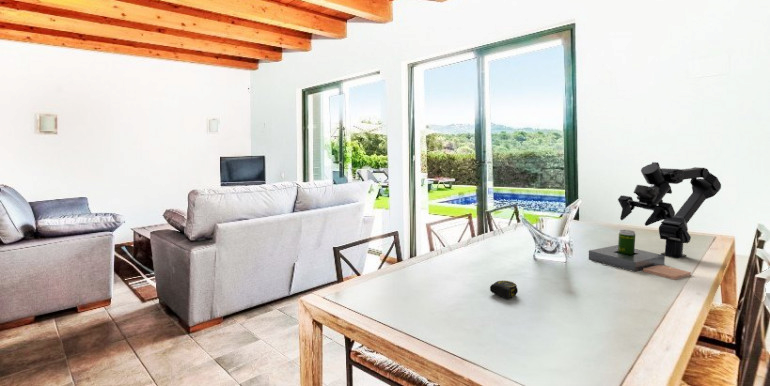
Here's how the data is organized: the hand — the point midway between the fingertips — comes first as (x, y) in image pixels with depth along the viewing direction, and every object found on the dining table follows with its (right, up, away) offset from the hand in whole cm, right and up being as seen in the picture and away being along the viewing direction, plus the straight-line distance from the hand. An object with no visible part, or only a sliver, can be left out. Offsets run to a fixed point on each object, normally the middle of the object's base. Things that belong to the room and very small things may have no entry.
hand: (632, 222), depth 146 cm
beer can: (0, -16, +4) cm, 16 cm away
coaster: (+5, -17, -10) cm, 20 cm away
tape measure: (-57, -20, -29) cm, 67 cm away
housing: (0, -16, +4) cm, 16 cm away
